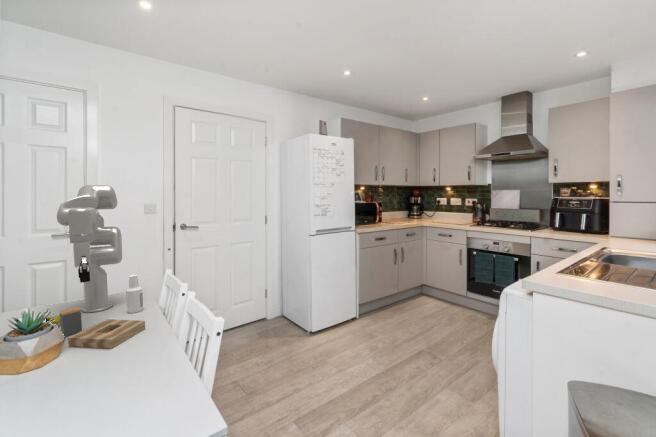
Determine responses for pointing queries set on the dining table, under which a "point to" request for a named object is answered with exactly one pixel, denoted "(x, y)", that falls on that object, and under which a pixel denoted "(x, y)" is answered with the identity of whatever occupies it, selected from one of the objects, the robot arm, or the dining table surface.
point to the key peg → (71, 321)
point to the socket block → (106, 334)
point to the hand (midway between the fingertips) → (84, 279)
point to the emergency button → (55, 320)
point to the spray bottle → (134, 295)
